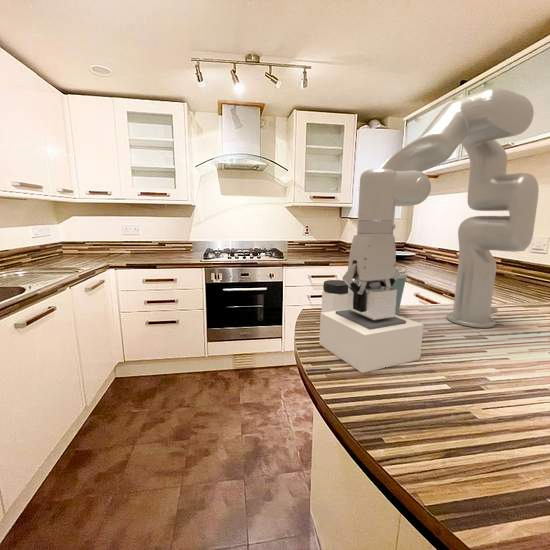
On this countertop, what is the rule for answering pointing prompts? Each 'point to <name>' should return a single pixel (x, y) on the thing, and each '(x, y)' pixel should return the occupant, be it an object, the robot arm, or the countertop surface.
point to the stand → (370, 339)
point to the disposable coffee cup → (399, 287)
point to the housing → (376, 301)
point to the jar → (334, 295)
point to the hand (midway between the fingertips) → (370, 308)
